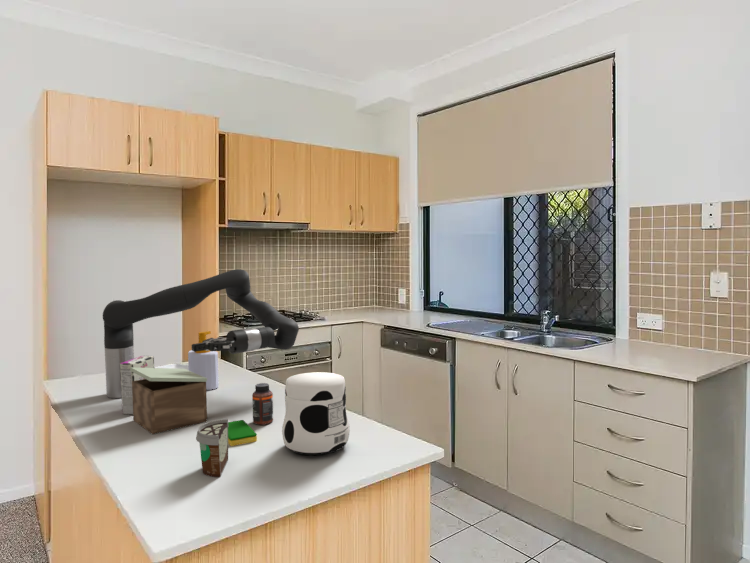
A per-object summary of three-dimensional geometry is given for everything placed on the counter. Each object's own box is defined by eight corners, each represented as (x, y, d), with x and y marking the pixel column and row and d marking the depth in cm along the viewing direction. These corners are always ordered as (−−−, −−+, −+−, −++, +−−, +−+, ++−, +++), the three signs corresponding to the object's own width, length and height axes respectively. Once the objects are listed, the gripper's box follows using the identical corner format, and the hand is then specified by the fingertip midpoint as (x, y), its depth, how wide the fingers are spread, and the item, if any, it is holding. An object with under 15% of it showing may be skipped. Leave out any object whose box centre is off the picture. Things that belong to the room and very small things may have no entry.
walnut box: (133, 420, 161) (131, 381, 160) (185, 409, 172) (184, 372, 171) (152, 434, 149) (150, 392, 149) (207, 421, 160) (205, 381, 159)
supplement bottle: (277, 420, 160) (276, 383, 160) (265, 426, 155) (264, 388, 154) (261, 417, 163) (260, 381, 162) (248, 423, 158) (247, 385, 157)
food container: (204, 459, 132) (202, 419, 131) (229, 457, 133) (228, 418, 132) (191, 481, 120) (189, 437, 119) (219, 479, 120) (217, 436, 120)
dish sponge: (230, 447, 140) (230, 438, 140) (218, 431, 152) (218, 423, 152) (257, 442, 144) (257, 434, 144) (243, 427, 156) (243, 419, 156)
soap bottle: (224, 386, 199) (223, 332, 197) (207, 392, 192) (205, 335, 190) (200, 382, 206) (199, 329, 204) (183, 386, 199) (181, 332, 198)
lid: (130, 370, 160) (130, 367, 160) (183, 371, 171) (184, 368, 171) (149, 381, 148) (150, 377, 148) (206, 381, 159) (207, 378, 159)
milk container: (289, 435, 148) (288, 371, 147) (352, 435, 147) (351, 371, 146) (276, 460, 131) (274, 388, 129) (346, 461, 130) (346, 388, 129)
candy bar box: (143, 404, 178) (141, 355, 177) (156, 404, 177) (155, 355, 176) (121, 414, 167) (118, 362, 166) (135, 415, 166) (133, 363, 165)
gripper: (234, 327, 180) (183, 333, 169) (253, 331, 170) (201, 338, 159) (234, 349, 181) (184, 356, 169) (254, 354, 171) (202, 363, 159)
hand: (192, 348), depth 164 cm, fingers closed
